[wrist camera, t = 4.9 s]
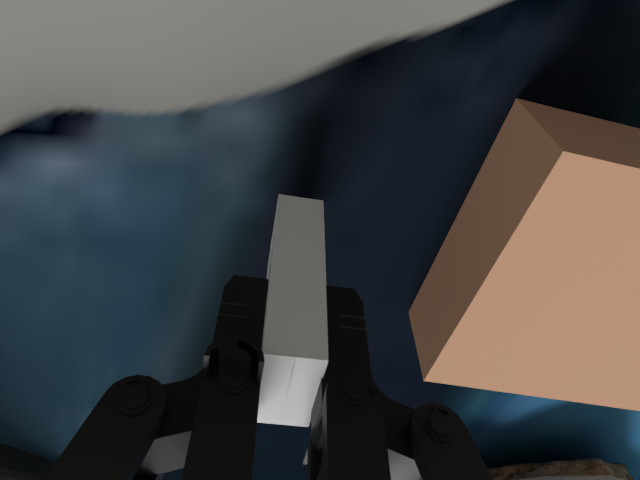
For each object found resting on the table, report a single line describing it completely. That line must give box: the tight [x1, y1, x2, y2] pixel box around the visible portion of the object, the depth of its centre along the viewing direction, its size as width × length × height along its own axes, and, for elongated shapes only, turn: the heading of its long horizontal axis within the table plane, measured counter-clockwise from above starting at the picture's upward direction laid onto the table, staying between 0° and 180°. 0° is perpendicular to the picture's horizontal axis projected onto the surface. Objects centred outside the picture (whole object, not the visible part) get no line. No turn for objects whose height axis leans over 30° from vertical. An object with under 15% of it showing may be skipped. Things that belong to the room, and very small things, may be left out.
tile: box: [409, 98, 640, 411], centre depth 18 cm, size 14×10×4 cm
